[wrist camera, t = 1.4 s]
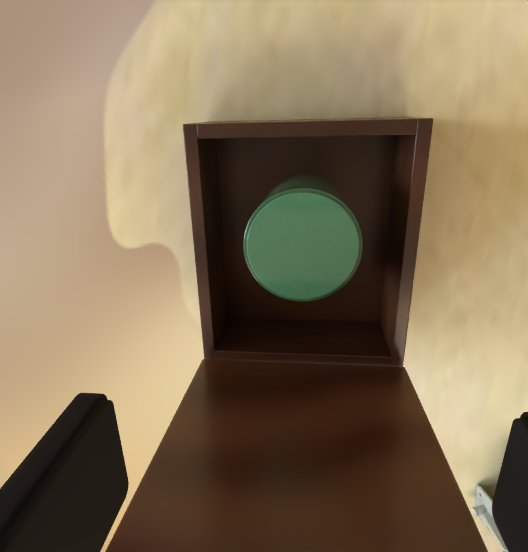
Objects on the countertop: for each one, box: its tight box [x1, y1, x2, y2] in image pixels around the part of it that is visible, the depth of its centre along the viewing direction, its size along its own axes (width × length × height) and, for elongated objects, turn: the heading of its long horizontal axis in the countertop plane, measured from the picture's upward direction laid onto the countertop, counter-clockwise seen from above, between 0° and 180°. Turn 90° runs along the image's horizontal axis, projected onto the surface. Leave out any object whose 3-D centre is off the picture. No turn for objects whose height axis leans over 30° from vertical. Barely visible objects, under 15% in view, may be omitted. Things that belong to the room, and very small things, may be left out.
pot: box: [243, 171, 363, 301], centre depth 25 cm, size 6×6×8 cm
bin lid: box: [106, 359, 488, 552], centre depth 20 cm, size 16×14×1 cm
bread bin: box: [183, 117, 433, 367], centre depth 28 cm, size 16×14×6 cm
